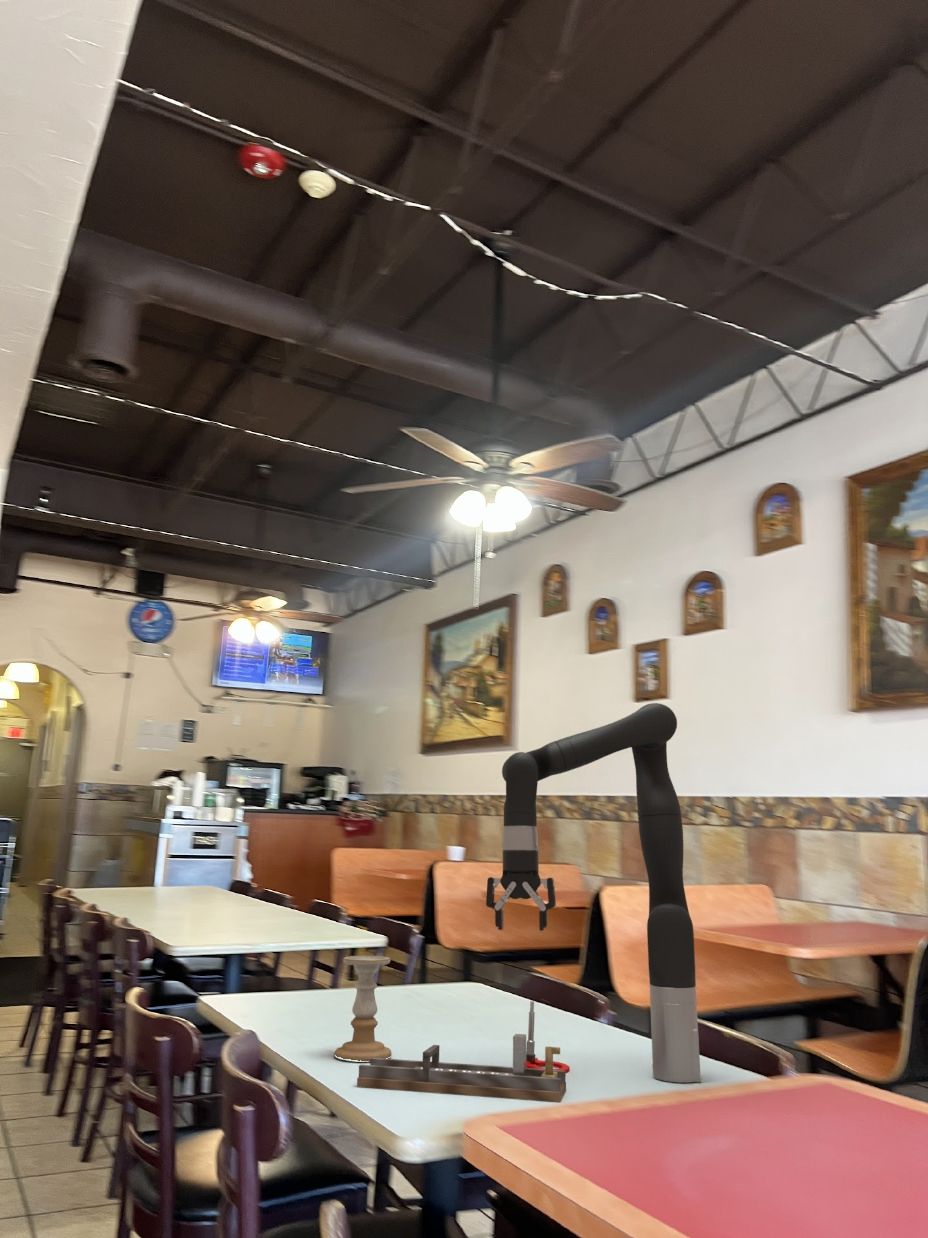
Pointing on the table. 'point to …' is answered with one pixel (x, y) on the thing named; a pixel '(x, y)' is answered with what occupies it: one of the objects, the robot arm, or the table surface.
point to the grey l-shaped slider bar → (518, 1058)
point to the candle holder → (364, 1012)
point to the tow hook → (530, 1056)
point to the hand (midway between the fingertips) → (521, 930)
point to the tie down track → (464, 1078)
